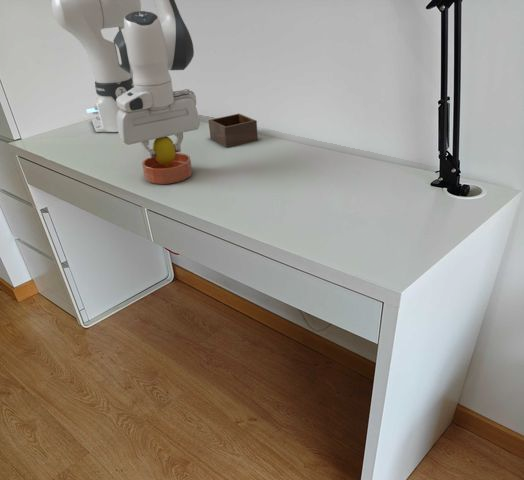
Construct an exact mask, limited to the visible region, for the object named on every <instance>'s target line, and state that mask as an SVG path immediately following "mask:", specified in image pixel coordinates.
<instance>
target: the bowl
mask: <svg viewBox="0 0 524 480" xmlns="http://www.w3.org/2000/svg"><path fill="white" fill-rule="evenodd" d="M141 162H142V163H141V165H142V171H143V176H144V180H146V181H147V182H148V183H151V184H152V183H153V184H159V185H168V184H169V185H170V184H176V183H179V182H181V181H184V180H186V179H188V178H190V177H191V176H192V175H193V169H192V161H191V156H189V155H188V154H186V153H181V152H177V153H175V159H174V161H173V162H172V163H171V164H169V166H168V167H166V166H164V165H162V164H160V163H159V162H158V161H157V160H156V159H155V158H151V159H150V158H149V157H146V158H145V159H144V160H143V161H141Z"/></svg>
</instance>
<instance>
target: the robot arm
mask: <svg viewBox="0 0 524 480" xmlns="http://www.w3.org/2000/svg"><path fill="white" fill-rule="evenodd" d="M153 3H154V5H155V7H156V8H155V9H156V10H157V12H158V15H159V16H158V15H157V14H155V13H154V12H151V11H145V10H142V2H141V0H51V4H50V5H51V11H52V15H53V17H54V19H55V21H56V22H57V24H58V25H59V26H60V27H61V28H62V29H63V30H64V31H66V32H67V33H70V34H71V36H73V37H75V39H76V40H78V41H79V43H80V44H81V46H82V47H83V48H84V50H85V51H86V54H87V57H88V59H89V62H90V66H91V69H92V73H93V75H94V76H93V77H94V80H95V81H94V89H95V94H96V99H95V102H94V106H91V107H90V108H88V109H86V113H92V115H96V116H95V117H93V118H92V119H91V121H92V125H93V128H94V131H95V132H96V133H106V132H107V133H118V136H119V140H120V141H121V142H122V143H124V144H125V145H127V146H129V145H134V144H139V143H140V144H141V145H142V146H143V148H144V149H145V151H146V153H147V158H150V159H151V158H155V157H156V155H155V150H153V148H151V147H149V146H150V141H151V140H155V139H157V138H161V137H166V136H167V137H169V136H173V135H174V136H175V137H176V139H175V142H174V143H173V144H174V147H175V152H176V153H181V152H182V147H181V145H182V142H183V140H184V133H188V132H192V131H197V130H199V128H200V125H201V122H200V116H199V113H198V112H199V111H198V108H197V96H196V93H195V92H194V91H193V90H190V89H188V88H186V89H182V90H175V91H173V90H174V89H173V88H174V87H173V83H172V77H171V74H170V71H184V70H185V69H186V68H187V67H188V66H189V65H190V63H191V62H192V60H193V59H194V55H195V53H194V52H195V51H194V43H193V39H192V36H191V34H190V31H189V29H188V28H187V25H186V24H185V21H184V20H183V17H182V15H181V13H180V11H179V8H178V6H177V3H176V1H175V0H153ZM160 20H161V21H160ZM161 22H162V23H161ZM122 27H123V28H122ZM112 28H121V29H119V30H118V31H117V33H116V34H115V36H114V38H113V41H111V40H108V39H106V38H105V37H104V36H103V33H102V30H104V29H112ZM131 74H132V77H131Z"/></svg>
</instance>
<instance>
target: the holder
mask: <svg viewBox="0 0 524 480" xmlns="http://www.w3.org/2000/svg"><path fill="white" fill-rule="evenodd" d="M208 129H209V138H210V140H212V141H213V142H215V143H217V144H219V145H221V146H223V147H225V148H230V147H235V146H239V145H244V144H247V143H252V142H257V141H258V137H259V136H258V121H257V120H256V119H253V118H251V117H249V116H246V115H244V114H242V113H235V114H231V115H226V116H221V117H216V118H211V119H208Z"/></svg>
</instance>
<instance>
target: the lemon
mask: <svg viewBox="0 0 524 480" xmlns="http://www.w3.org/2000/svg"><path fill="white" fill-rule="evenodd" d="M174 144H175V143H174V142H173V140H172V139H171V138H170V137H169V136H166V137H161V138H157V139H154V141H153V143H152V149H153V150H155V155H156V157H155V159H156V160H157V161H158V162H159V163H160V164H162V165H164V166H166V167H168V166H169V164H171V163H172V162H173V161H174V159H175V153H176V152H175V147H174Z"/></svg>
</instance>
